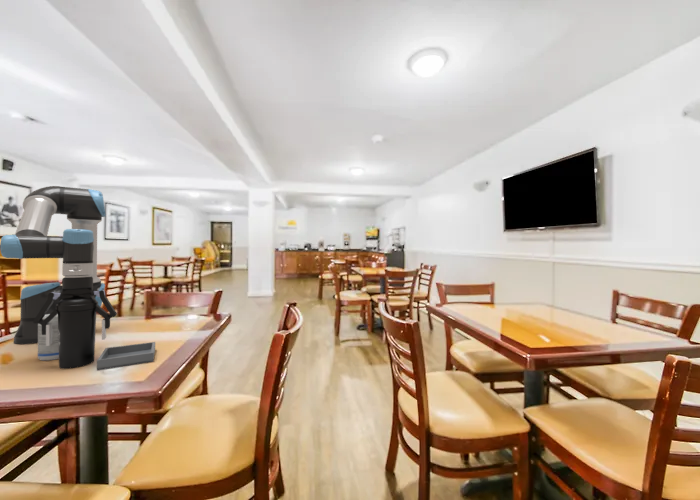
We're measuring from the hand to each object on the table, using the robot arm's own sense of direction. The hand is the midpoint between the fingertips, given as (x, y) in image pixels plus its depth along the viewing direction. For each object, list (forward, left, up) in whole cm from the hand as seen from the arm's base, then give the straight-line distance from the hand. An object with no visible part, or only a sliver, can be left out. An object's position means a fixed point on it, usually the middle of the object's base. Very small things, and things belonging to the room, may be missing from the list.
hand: (77, 341), depth 99 cm
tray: (+3, +14, -7) cm, 16 cm away
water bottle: (0, 0, -7) cm, 7 cm away
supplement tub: (-13, -8, -8) cm, 17 cm away
